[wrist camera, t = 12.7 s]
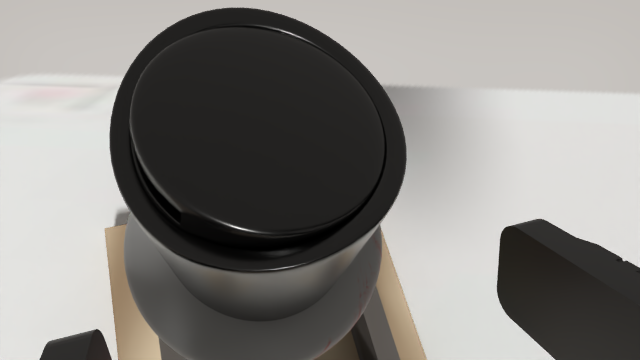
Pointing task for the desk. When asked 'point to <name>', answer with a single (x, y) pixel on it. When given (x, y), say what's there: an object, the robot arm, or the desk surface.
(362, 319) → the socket board
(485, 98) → the desk surface
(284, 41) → the lotion bottle
